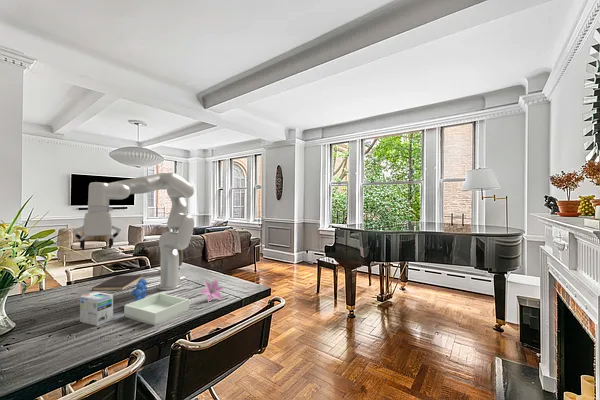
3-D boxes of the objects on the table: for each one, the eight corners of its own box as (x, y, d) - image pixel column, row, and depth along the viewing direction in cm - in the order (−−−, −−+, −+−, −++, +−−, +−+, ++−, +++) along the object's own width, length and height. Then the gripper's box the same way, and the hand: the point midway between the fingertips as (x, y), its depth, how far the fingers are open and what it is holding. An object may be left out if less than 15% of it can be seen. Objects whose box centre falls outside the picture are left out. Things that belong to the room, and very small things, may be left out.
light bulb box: (113, 319, 114) (114, 293, 114) (97, 326, 108) (97, 299, 108) (95, 315, 118) (96, 290, 118) (78, 322, 111) (79, 295, 111)
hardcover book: (142, 278, 174) (142, 275, 174) (123, 290, 151) (123, 286, 151) (116, 279, 172) (116, 275, 172) (92, 291, 149) (92, 287, 149)
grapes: (134, 300, 135) (135, 276, 135) (149, 299, 137) (150, 275, 137) (126, 309, 124) (126, 283, 124) (142, 308, 126) (142, 282, 126)
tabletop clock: (181, 269, 196) (181, 234, 196) (183, 272, 189) (183, 236, 189) (158, 271, 189) (159, 235, 189) (159, 274, 181) (160, 237, 181)
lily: (194, 304, 134) (199, 289, 131) (200, 288, 145) (205, 274, 142) (218, 310, 137) (224, 295, 134) (222, 293, 148) (227, 280, 145)
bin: (159, 303, 133) (159, 292, 133) (188, 310, 125) (189, 299, 125) (124, 316, 117) (124, 305, 117) (155, 325, 109) (155, 313, 109)
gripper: (120, 210, 130) (118, 246, 130) (73, 209, 119) (71, 249, 118) (122, 210, 124) (121, 248, 124) (73, 210, 113) (71, 251, 113)
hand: (96, 248), depth 121 cm, fingers open, 9 cm apart
